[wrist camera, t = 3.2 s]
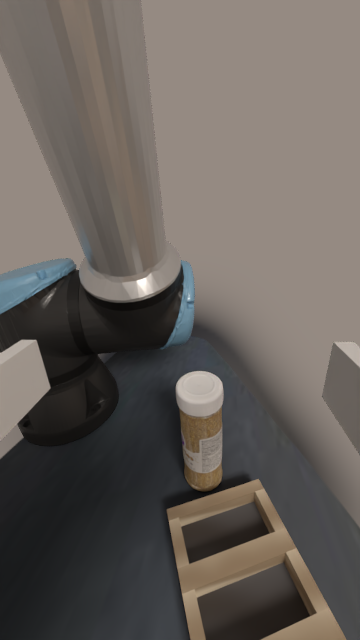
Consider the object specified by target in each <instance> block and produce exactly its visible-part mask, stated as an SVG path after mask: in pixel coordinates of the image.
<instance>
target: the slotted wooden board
mask: <svg viewBox="0 0 360 640" xmlns="http://www.w3.org/2000/svg"><path fill="white" fill-rule="evenodd" d="M167 514H168V520H169V526H170V531H171V537H172V542H173V548H174V553H175V558H176V564H177V569H178V575H179V580H180V586H181V591H182V596H183V602H184V607H185V613H186V618H187V624H188V629H189V635H190V640H346V638H345V636H344V634H343V632H342V631H341V629H340V627H339V625H338V623H337V621H336V620H335V618H334V616H333V614H332V612H331V611H330V609H329V607H328V605H327V603H326V601H325V600H324V598H323V596H322V594H321V592H320V590H319V589H318V587H317V585H316V583H315V581H314V579H313V578H312V576H311V574H310V572H309V570H308V568H307V567H306V565H305V563H304V561H303V559H302V557H301V556H300V554H299V552H298V550H297V548H296V547H295V545H294V543H293V541H292V539H291V537H290V536H289V534H288V532H287V530H286V528H285V526H284V525H283V523H282V521H281V519H280V517H279V515H278V514H277V512H276V510H275V508H274V506H273V504H272V503H271V501H270V499H269V497H268V495H267V493H266V492H265V490H264V488H263V486H262V484H261V483H260V481H259V479H257V480H254V481H251V482H248V483H245V484H242V485H239V486H236V487H233V488H230V489H227V490H224V491H221V492H218V493H215V494H212V495H209V496H206V497H203V498H200V499H197V500H194V501H191V502H188V503H184V504H181V505H178V506H175V507H172V508H169V509H167Z"/></svg>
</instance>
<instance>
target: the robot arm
mask: <svg viewBox="0 0 360 640" xmlns="http://www.w3.org/2000/svg"><path fill="white" fill-rule="evenodd" d="M0 54H1V56H2V59H3V61H4V63H5V66H6V68H7V71H8V73H9V75H10V78H11V80H12V82H13V85H14V87H15V90H16V92H17V94H18V97H19V99H20V102H21V104H22V106H23V109H24V111H25V113H26V116H27V118H28V121H29V123H30V125H31V128H32V130H33V132H34V135H35V137H36V139H37V142H38V144H39V147H40V149H41V152H42V154H43V156H44V159H45V161H46V163H47V166H48V168H49V171H50V173H51V175H52V178H53V180H54V182H55V185H56V187H57V190H58V192H59V194H60V197H61V199H62V202H63V204H64V206H65V209H66V211H67V213H68V216H69V218H70V221H71V223H72V225H73V228H74V230H75V232H76V235H77V237H78V240H79V242H80V244H81V247H82V249H83V251H84V254H85V256H86V257H85V258H84V259H83V261H82V263H81V265H80V268H79V270H76V264H74V262H73V260H71V259H69V258H66V259H56V260H50V261H46V262H41V263H38V264H34V265H30V266H27V267H23V268H19V269H17V270H13V271H10V272H7V273H4V274H1V275H0V441H1V440H2V439H3V438H4V437H5V436H6V435H7V434H8V433H9V432H10V431H11V430H12V429H13V428H14V427H15V425H16V424H18V427H19V429H20V431H21V433H22V434H23V436H24V438H25V439H26V440H28V441H29V442H31V443H33V444H36V445H41V446H55V445H61V444H66V443H69V442H72V441H75V440H77V439H80V438H82V437H84V436H86V435H87V434H89V433H91V432H92V431H94V430H95V429H97V428H98V427H99V426H101V425H102V424H103V423H104V422H105V421H106V420H107V419H108V418H109V417H110V415H111V414H112V413H113V411H114V409H115V407H116V405H117V403H118V398H119V393H118V389H117V384H116V381H115V379H114V377H113V376H112V374H111V373H110V371H109V370H108V369H107V367H106V366H105V365H104V363H103V362H102V361H101V359H100V358H99V357H98V354H101V353H111V352H123V351H136V350H148V349H165V348H167V347H172V346H179V345H182V344H184V343H185V342H186V341H187V340H188V339H189V337H190V335H191V332H192V327H193V321H194V305H193V304H194V297H195V288H194V277H193V272H192V267H191V265H190V264H189V263H188V262H187V261H182V260H181V259H180V255H179V253H178V251H177V249H176V248H175V247H174V246H173V245H172V244H171V243H169V242H168V241H166V240H165V231H164V221H163V211H162V201H161V192H160V182H159V173H158V163H157V153H156V143H155V134H154V124H153V114H152V105H151V95H150V85H149V75H148V66H147V56H146V47H145V36H144V27H143V17H142V8H141V0H0ZM322 397H323V399H324V401H325V402H326V404H327V405H328V407H329V408H330V410H331V411H332V413H333V414H334V416H335V417H336V419H337V420H338V422H339V424H340V425H341V426H342V428H343V430H344V431H345V433H346V434H347V436H348V438H349V439H350V441H351V442H352V444H353V445H354V446H355V448H356V450H357V451H358V453H359V455H360V347H359V346H358V345H356V344H355V343H354V342H333V346H332V351H331V356H330V361H329V365H328V370H327V375H326V380H325V385H324V389H323V395H322Z"/></svg>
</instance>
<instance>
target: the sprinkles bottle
mask: <svg viewBox="0 0 360 640" xmlns="http://www.w3.org/2000/svg"><path fill="white" fill-rule="evenodd" d="M176 400H177V404H178V406H179V410H180V420H181V435H182V447H183V457H184V464H185V467H184V474H185V479H186V480H187V482H188V484H189V485H190V486H191V487H192V488H194V489H196V490H198V491H205V492H206V491H211V490H213V489H214V488H216V487H217V486H218V485H219V483H220V482H221V479H222V467H221V460H222V420H221V418H222V417H221V416H222V415H221V413H222V412H221V410H222V408H221V407H222V404H223V385H222V382H221V380H220V379H219V378H218V377H217V376H215V375H214V374H212V373H209V372H205V371H194V372H190V373H187V374H185V375H184V376H182V377H181V378H180V379H179V380H178V382H177V384H176Z"/></svg>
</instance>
